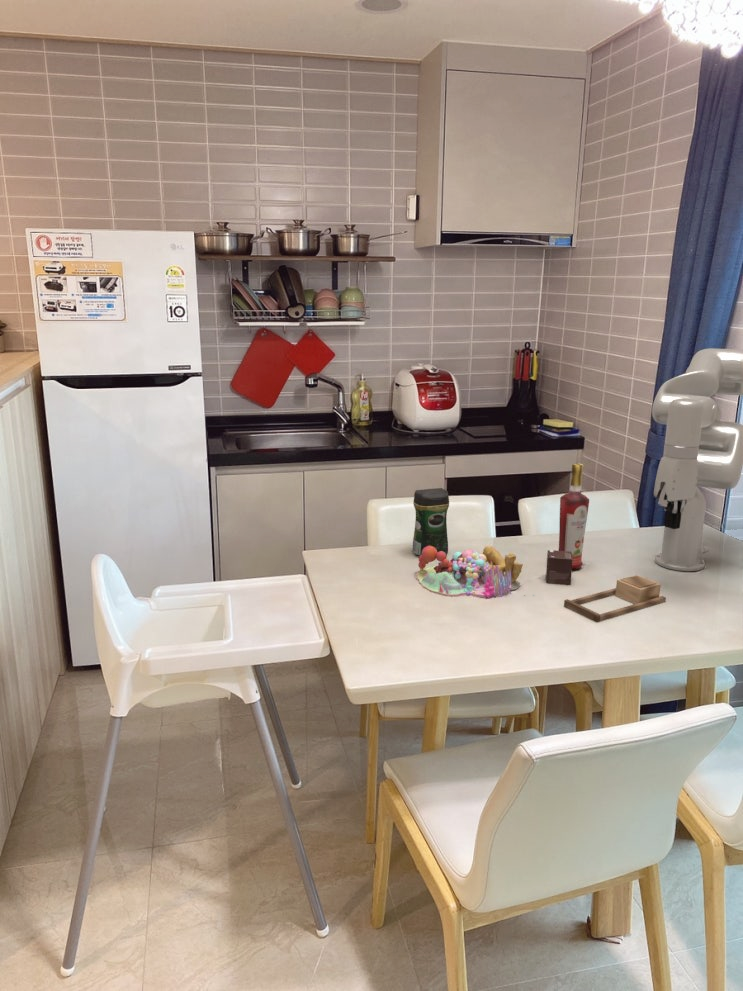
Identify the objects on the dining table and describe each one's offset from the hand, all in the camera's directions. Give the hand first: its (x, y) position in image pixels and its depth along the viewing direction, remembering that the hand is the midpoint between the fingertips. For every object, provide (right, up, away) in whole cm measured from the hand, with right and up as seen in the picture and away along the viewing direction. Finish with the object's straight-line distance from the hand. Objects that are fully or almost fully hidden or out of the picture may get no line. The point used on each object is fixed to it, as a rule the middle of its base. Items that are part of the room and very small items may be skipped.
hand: (671, 527), depth 183 cm
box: (-25, -14, +10) cm, 30 cm away
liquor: (-19, -12, +20) cm, 30 cm away
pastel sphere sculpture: (-47, -15, +10) cm, 51 cm away
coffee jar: (-56, -9, +29) cm, 64 cm away
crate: (-9, -17, -1) cm, 19 cm away
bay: (-15, -18, -4) cm, 24 cm away
